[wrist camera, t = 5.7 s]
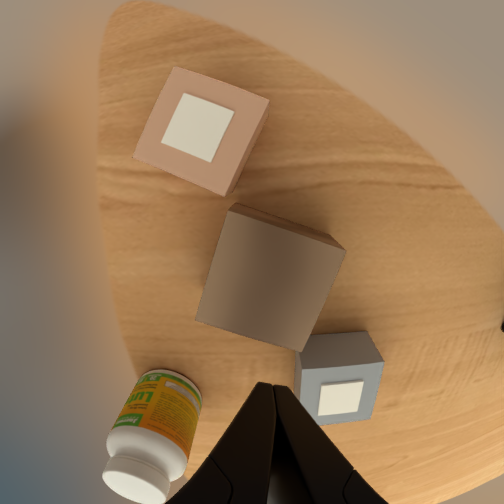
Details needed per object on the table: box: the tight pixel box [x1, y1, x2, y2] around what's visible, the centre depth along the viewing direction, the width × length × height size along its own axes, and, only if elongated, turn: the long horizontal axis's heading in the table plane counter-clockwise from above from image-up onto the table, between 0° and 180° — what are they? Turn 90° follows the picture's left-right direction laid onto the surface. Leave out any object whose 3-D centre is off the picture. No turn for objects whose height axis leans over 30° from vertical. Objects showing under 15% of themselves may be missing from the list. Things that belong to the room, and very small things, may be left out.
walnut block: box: [195, 203, 346, 352], centre depth 17 cm, size 6×6×4 cm
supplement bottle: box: [102, 369, 202, 504], centre depth 17 cm, size 5×5×10 cm
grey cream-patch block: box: [294, 331, 384, 425], centre depth 18 cm, size 5×5×4 cm
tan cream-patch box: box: [132, 66, 270, 197], centre depth 15 cm, size 5×5×4 cm
